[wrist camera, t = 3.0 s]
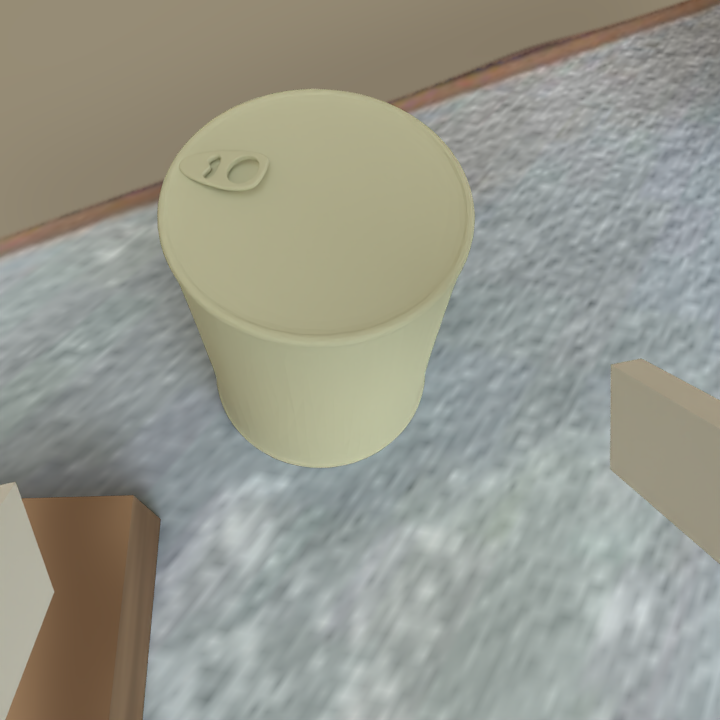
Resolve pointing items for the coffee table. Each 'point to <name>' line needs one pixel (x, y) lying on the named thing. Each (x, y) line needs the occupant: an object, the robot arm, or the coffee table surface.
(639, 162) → the coffee table surface
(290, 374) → the can
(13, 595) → the robot arm
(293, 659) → the coffee table surface
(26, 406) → the coffee table surface
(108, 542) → the plinth
